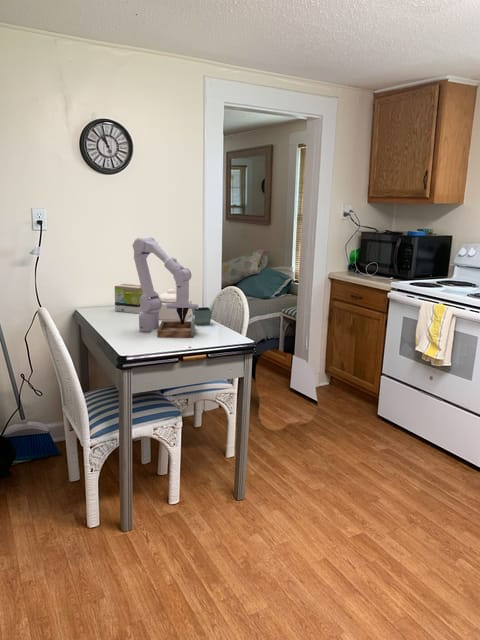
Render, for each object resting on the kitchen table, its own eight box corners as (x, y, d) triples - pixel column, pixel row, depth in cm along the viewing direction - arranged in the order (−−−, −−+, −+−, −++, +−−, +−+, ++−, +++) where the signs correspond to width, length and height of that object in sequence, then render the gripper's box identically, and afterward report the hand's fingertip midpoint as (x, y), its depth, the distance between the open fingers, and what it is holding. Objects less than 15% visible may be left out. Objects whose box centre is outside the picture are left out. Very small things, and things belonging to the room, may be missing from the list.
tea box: (114, 311, 285) (113, 285, 282) (123, 308, 294) (122, 283, 291) (138, 313, 281) (138, 287, 278) (146, 310, 290) (146, 285, 287)
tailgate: (190, 336, 227) (190, 323, 226) (192, 327, 244) (192, 315, 243) (195, 336, 227) (195, 323, 226) (196, 327, 244) (196, 315, 243)
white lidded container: (191, 314, 282) (191, 286, 279) (184, 321, 265) (184, 291, 261) (161, 313, 284) (160, 285, 281) (152, 320, 267) (151, 290, 263)
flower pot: (194, 328, 249) (194, 310, 247) (191, 324, 258) (191, 307, 256) (211, 328, 252) (212, 310, 250) (208, 324, 260) (208, 307, 258)
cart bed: (157, 340, 225) (157, 330, 224) (161, 330, 245) (161, 320, 244) (193, 341, 226) (193, 331, 225) (194, 330, 246) (195, 321, 245)
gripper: (165, 296, 227) (166, 325, 230) (198, 296, 228) (197, 326, 231) (167, 293, 234) (167, 322, 237) (198, 294, 235) (198, 322, 238)
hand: (182, 324), depth 234 cm, fingers closed
